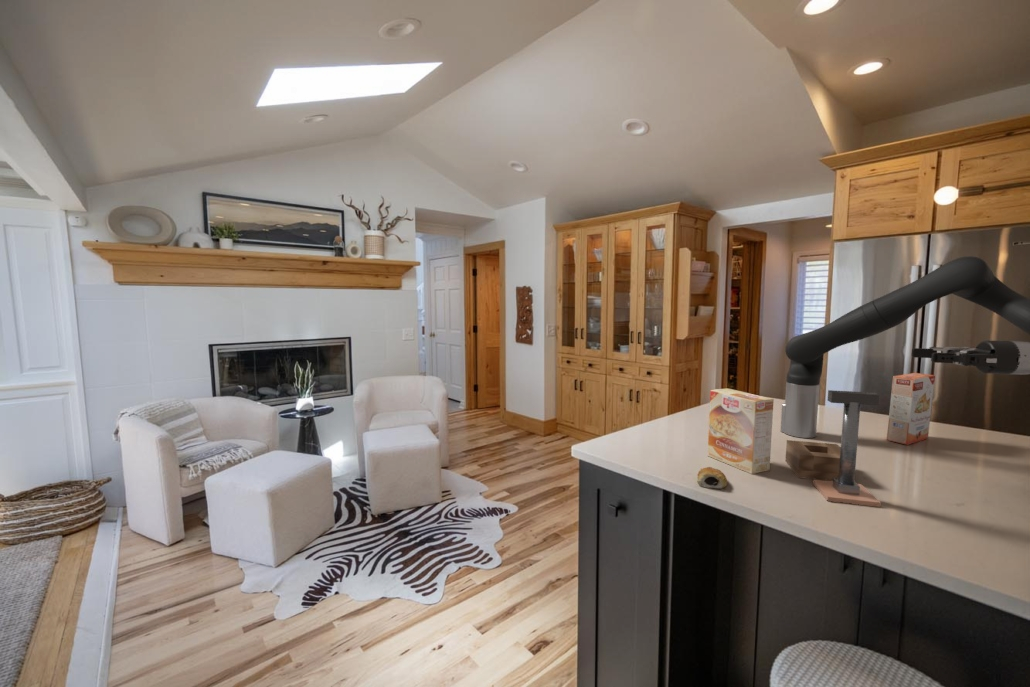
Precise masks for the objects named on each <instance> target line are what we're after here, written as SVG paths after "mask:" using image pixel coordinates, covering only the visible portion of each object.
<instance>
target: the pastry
mask: <svg viewBox="0 0 1030 687" xmlns="http://www.w3.org/2000/svg"><path fill="white" fill-rule="evenodd" d="M697 484H698V485H699V487H701V488H702V487H703V488H708V489H718V490H720V489H725V488H726V487H727V485H728V480H727V477H726V475H725V474H724V472H722V471H721V470H720V469H718V468H714V467H711V466H706V467H703V468H700V470H699V471H698V473H697Z"/></svg>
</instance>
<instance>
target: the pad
mask: <svg viewBox="0 0 1030 687" xmlns="http://www.w3.org/2000/svg"><path fill="white" fill-rule="evenodd" d="M812 480H813V483H812V484H813V485H814V487H815V488H816V489H817V490H818V491H819V493H820V494H821V495H822V496H823V498H825V500H826V499H827V500H828V501H827V500H826V501H827V502H831V501H834V503H840V502H843V504H849V503H852V504H851V505H858V504H859V505H858V506H868V507H875V508H878V507H879V508H881V505H882V504H881V501H880V500H879V499H877V497H876V496H874V495H873V494H872V493H871V492H870V491H869V490H868V489H867V488H866V487H865V486H864V485H863V484H862V483H861V484H860V483H857V484H858V485H859V486H860V492H859V495H853V494H844V493H838V492H837V490H836V489H835V488H834V487H833V486H832V484H833V481H828V480H818V479H812Z"/></svg>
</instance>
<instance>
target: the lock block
mask: <svg viewBox="0 0 1030 687" xmlns="http://www.w3.org/2000/svg"><path fill="white" fill-rule="evenodd" d="M785 447H786V448H785V462H786V464H787V465H788V467H789V468H790V469H791V470H792V471H793V473H794V474H795V475H796V477H797V478H800V479H809V480H822V481H832V482H833V478H838V477H839V464H840V451H841V445H839V444H838V443H829V442H828V443H827V442H817V441H816V442H815V441H803V440H802V441H801V440H790V439H789V440H788V439H786V446H785Z"/></svg>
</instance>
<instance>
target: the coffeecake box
mask: <svg viewBox="0 0 1030 687" xmlns="http://www.w3.org/2000/svg"><path fill="white" fill-rule="evenodd" d="M709 392H710V393H709V394H710V395H709V417H708V419H709V420H708V439H707V440H708V441H707V443H708V444H707V457H709V458H712V459H715V460H716V461H719V462H722V463H724V464H727V465H729V466H731V467H733V468H736V469H739V470H741V471H744V472H746V473H748V474H751V475H755V474H759V473H761V472H762V473H763V472H767V471H770V469H771V468H770V467H771V453H772V435H773V418H774V417H773V416H774V414H773V413H774V398H770V397H766V396H761V395H757V394H752V393H750V392H746V391H741V390H736V389H732V388H726V387H725V388H715V389H711V390H709Z"/></svg>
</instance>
